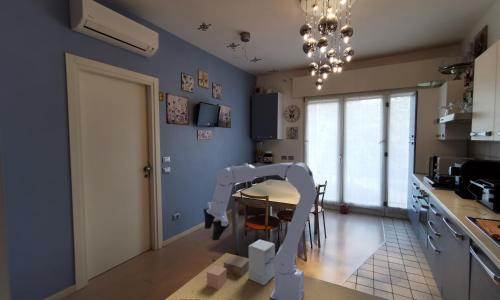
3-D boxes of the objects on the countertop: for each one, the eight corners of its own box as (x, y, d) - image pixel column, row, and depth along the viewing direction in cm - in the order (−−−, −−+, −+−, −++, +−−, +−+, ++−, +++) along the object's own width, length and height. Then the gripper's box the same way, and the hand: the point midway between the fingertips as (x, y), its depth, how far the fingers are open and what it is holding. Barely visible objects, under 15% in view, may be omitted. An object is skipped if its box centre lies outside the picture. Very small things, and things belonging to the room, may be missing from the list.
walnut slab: (250, 268, 95) (250, 258, 95) (241, 277, 88) (241, 267, 88) (233, 264, 98) (233, 254, 98) (223, 272, 92) (223, 262, 92)
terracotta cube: (226, 281, 86) (226, 268, 85) (218, 289, 81) (218, 275, 81) (215, 278, 88) (215, 265, 88) (207, 285, 83) (206, 272, 83)
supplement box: (264, 286, 83) (264, 250, 82) (248, 278, 87) (247, 245, 87) (275, 276, 89) (275, 243, 88) (259, 269, 93) (259, 238, 93)
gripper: (203, 190, 88) (194, 223, 90) (218, 208, 76) (208, 246, 78) (220, 191, 92) (211, 223, 94) (237, 209, 80) (226, 244, 82)
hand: (211, 233), depth 86 cm, fingers open, 7 cm apart
